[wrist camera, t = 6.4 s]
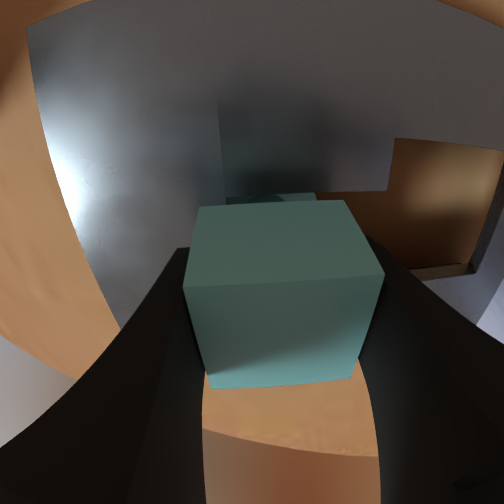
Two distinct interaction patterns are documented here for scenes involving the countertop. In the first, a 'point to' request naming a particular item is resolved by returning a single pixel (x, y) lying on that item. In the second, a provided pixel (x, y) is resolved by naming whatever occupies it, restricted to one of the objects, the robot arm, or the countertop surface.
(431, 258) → the countertop surface
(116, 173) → the keyhole bracket
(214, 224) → the peg
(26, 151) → the countertop surface
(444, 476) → the robot arm
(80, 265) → the countertop surface
